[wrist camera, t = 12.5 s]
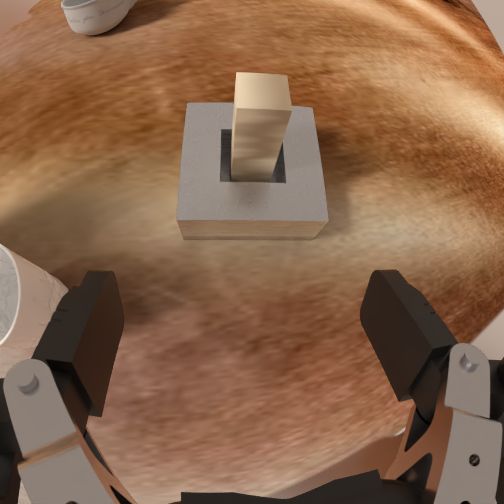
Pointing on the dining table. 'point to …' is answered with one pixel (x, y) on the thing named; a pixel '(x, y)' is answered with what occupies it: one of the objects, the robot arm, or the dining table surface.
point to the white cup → (25, 300)
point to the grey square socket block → (249, 193)
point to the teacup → (95, 14)
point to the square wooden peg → (258, 125)
